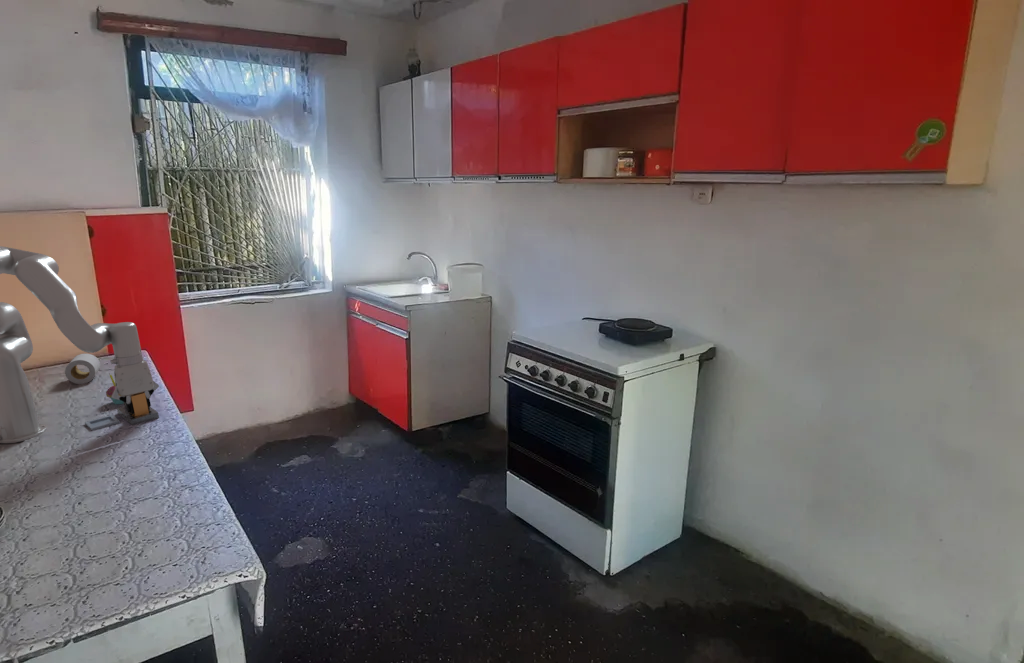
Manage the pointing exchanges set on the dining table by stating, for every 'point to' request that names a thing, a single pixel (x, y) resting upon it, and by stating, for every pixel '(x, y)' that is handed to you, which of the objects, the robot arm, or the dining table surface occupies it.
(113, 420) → the tray
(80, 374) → the toilet paper
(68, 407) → the dining table surface
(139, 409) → the plug
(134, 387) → the robot arm
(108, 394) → the cupcake
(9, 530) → the dining table surface
